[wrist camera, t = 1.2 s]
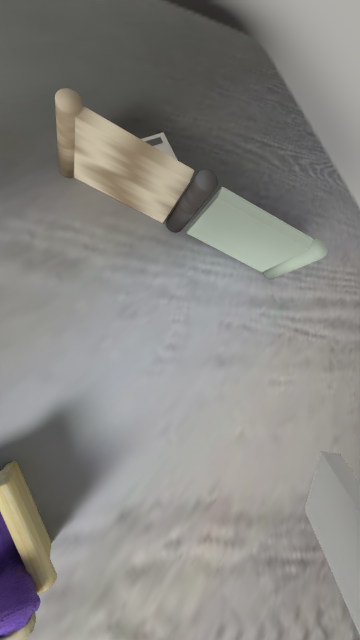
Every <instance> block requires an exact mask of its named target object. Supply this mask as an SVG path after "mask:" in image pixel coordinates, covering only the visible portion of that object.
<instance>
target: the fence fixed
mask: <svg viewBox="0 0 360 640" xmlns="http://www.w3.org/2000/svg"><path fill="white" fill-rule="evenodd" d="M55 108H56V125H57V142H58V159H59V170H60V172H61V174H62V175H63V176H65V177H67V178H76V179H78V180H80V181H82V182H84V183H86V184H88V185H90V186H92V187H94V188H96V189H97V190H99V191H101V192H103V193H105V194H107V195H109V196H111V197H113V198H115V199H117V200H119V201H121V202H123V203H125V204H126V205H128V206H130V207H132V208H134V209H136V210H138V211H140V212H142V213H144V214H146V215H148V216H150V217H152V218H153V219H155V220H157V221H159V222H161V223H163V222H164V220H165V219H166V217H167V216H168V214H169V213H170V211H171V210H172V208H173V207H174V205H175V204H176V202H177V200H178V199H179V197H180V196H181V194H182V193H183V191H184V190H185V188H186V187H187V185H188V184H189V182H190V180H191V178H192V175H193V173H194V170H193V169H191V168H190V167H188V166H186V165H184V164H183V163H181V162H179V161H177V160H176V159H174V158H172V157H171V156H169V155H167V154H165V153H164V152H162V151H160V150H158V149H157V148H155V147H153V146H151V145H150V144H148V143H146V142H145V141H143V140H141V139H139V138H138V137H136V136H134V135H132V134H131V133H129V132H127V131H125V130H124V129H122V128H120V127H119V126H117V125H115V124H113V123H112V122H110V121H108V120H106V119H105V118H103V117H101V116H99V115H98V114H96V113H94V112H93V111H91V110H89V109H87V108H86V107H84V106H82V100H81V98H80V96H79V95H78V94H77V93H76V92H75V91H73V90H71V89H66V88H65V89H60V90H59V91H57V93H56V94H55ZM217 185H218V180H217V177H216V175H215V174H214V173H213V172H212V171H210V170H207V169H203V170H201V171H199V172H198V174H197V175H196V177H195V178H194V180H193V181H192V183H191V184H190V186H189V187H188V189H187V190H186V192H185V193H184V195H183V196H182V198H181V199H180V201H179V202H178V204H177V205H176V207H175V208H174V210H173V211H172V213H171V214H170V216H169V217H168V219H167V221H166V225H167V227H168V229H169V230H170V231H172V232H175V233H176V232H180V231H181V230H182V229H183V227H184V226H185V225H186V224H187V223H188V221H189V220H190V219H191V218H192V216H193V215H194V214H195V213H196V212H197V210H198V209H199V208H200V207H201V205H202V204H203V203H204V202H205V201H206V199H207V198H208V197H209V196H210V195H211V193H212V192H213V191H214V190H215V188H216V187H217Z"/></svg>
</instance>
